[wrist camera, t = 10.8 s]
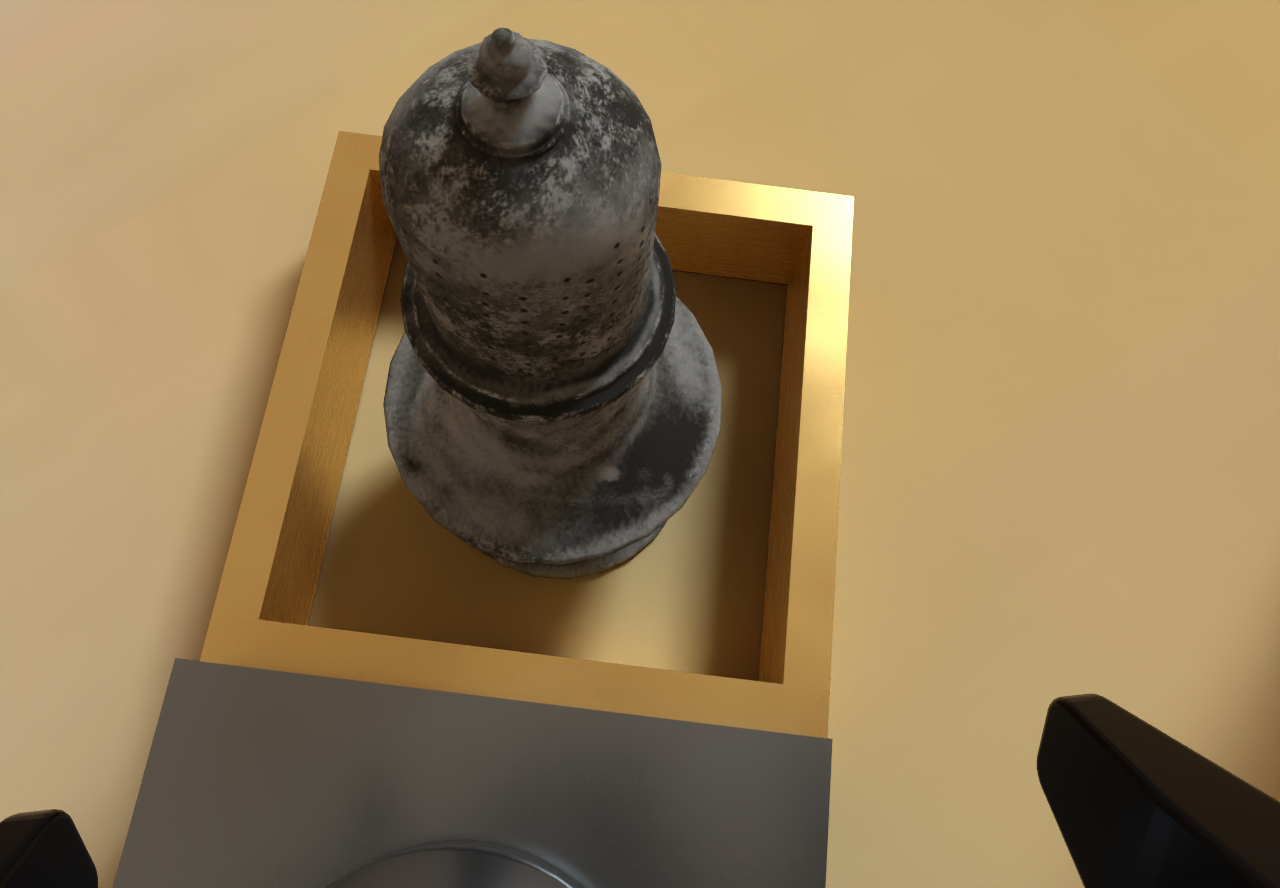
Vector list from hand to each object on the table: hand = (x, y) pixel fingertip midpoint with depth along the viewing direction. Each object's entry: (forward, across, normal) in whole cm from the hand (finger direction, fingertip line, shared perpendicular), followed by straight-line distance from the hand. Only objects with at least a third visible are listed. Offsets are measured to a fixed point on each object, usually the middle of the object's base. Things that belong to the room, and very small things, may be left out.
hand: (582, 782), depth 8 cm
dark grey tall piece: (+11, 0, +2) cm, 11 cm away
